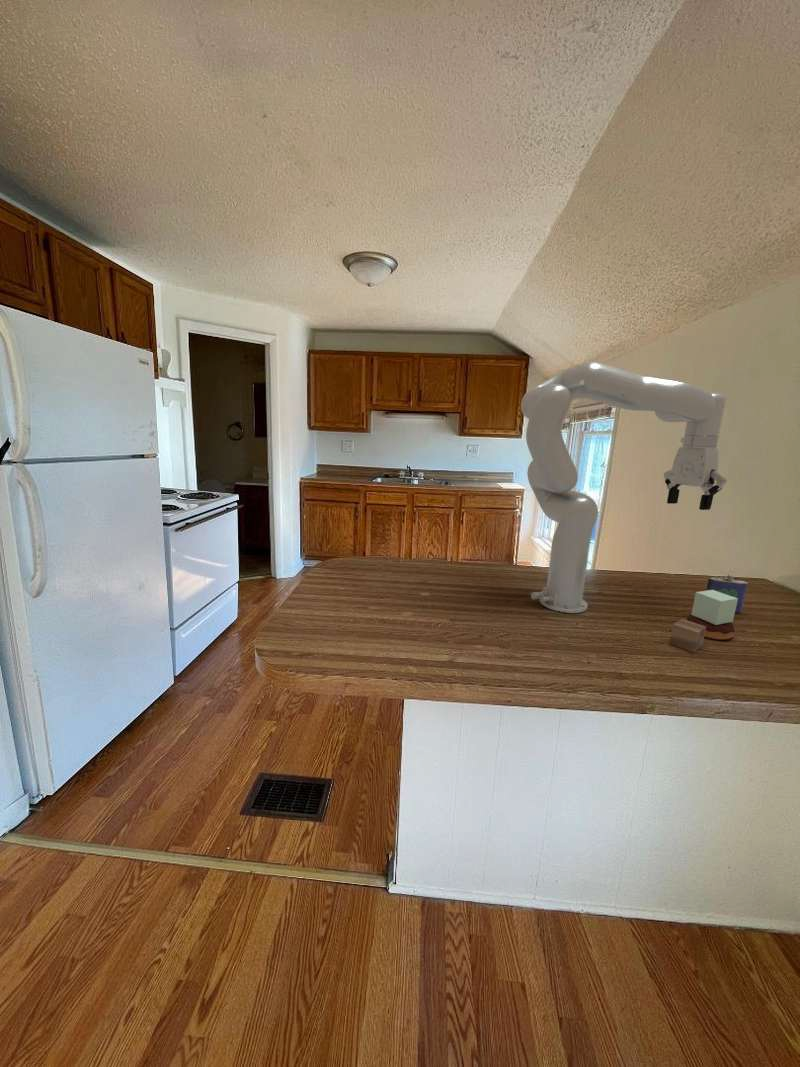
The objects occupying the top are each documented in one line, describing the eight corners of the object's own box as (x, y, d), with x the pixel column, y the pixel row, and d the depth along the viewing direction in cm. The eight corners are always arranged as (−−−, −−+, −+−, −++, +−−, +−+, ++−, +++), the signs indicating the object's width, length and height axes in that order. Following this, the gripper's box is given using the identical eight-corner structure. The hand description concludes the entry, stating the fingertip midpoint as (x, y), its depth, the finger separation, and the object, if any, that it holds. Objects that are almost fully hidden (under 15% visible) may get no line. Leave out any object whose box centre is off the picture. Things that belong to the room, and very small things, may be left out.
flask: (738, 610, 119) (747, 574, 117) (743, 615, 117) (752, 578, 114) (701, 606, 122) (708, 570, 119) (705, 610, 119) (712, 574, 117)
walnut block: (693, 652, 95) (698, 632, 94) (669, 643, 99) (673, 624, 98) (702, 646, 98) (706, 626, 97) (678, 638, 102) (681, 618, 101)
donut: (674, 627, 108) (677, 612, 108) (698, 621, 112) (701, 607, 111) (716, 645, 100) (720, 629, 99) (741, 638, 104) (745, 623, 103)
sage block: (715, 624, 101) (720, 601, 100) (691, 614, 107) (695, 592, 105) (732, 621, 103) (738, 598, 102) (707, 611, 109) (712, 589, 107)
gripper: (660, 441, 120) (650, 501, 124) (721, 443, 104) (707, 512, 108) (681, 441, 122) (670, 501, 126) (744, 444, 106) (729, 512, 110)
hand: (687, 506), depth 117 cm, fingers open, 9 cm apart
